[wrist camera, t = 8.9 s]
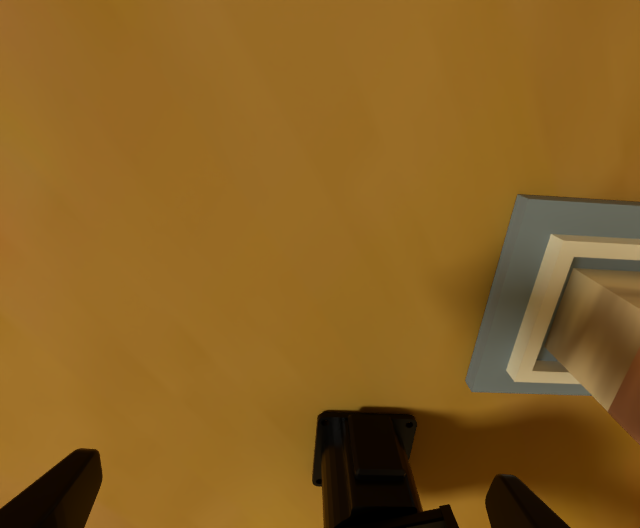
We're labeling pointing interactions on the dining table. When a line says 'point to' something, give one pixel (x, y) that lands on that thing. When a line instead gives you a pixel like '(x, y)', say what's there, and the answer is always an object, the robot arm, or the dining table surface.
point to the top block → (629, 400)
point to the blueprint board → (546, 287)
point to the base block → (598, 329)
